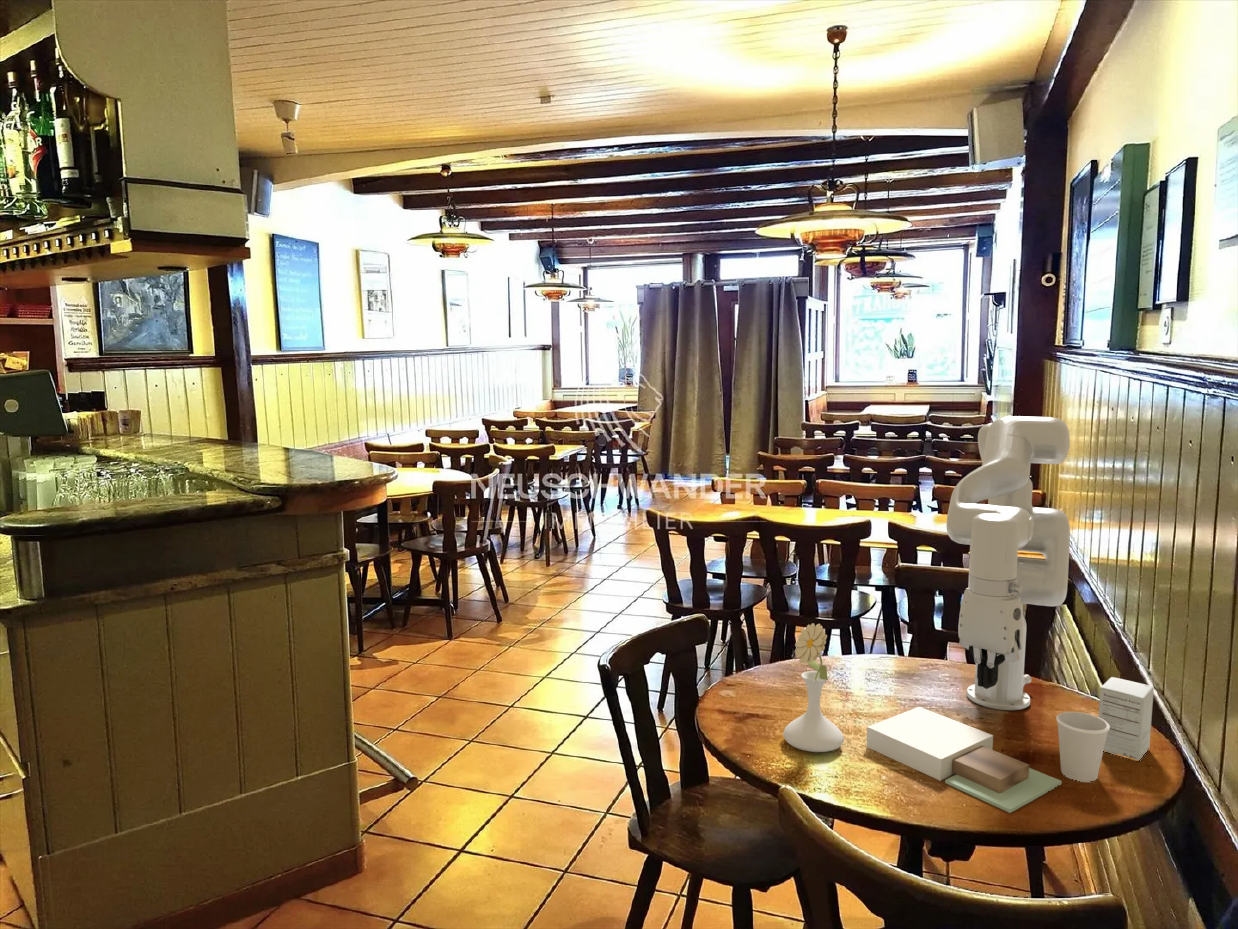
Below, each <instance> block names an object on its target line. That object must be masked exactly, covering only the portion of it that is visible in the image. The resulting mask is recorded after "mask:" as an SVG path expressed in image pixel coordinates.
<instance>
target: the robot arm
mask: <svg viewBox="0 0 1238 929" xmlns="http://www.w3.org/2000/svg"><path fill="white" fill-rule="evenodd" d="M1070 438H1071V437H1070V432H1069V428H1068V425H1067V423H1066V422H1065V421H1063V420H1062V419H1060V418H1058V417H1053V416H1052V417H1051V416H1023V415H1022V416H1021V415H1018V416H1017V415H1014V416H1013V415H1012V416H1010V415H1009V416H1004V417H999V418H997V419H995V420H994V421H993V422H990V423H987V424H986V423H985V424H984V425H983V426H981V427H980V428H979V430H978V433H977V447H978V451H979V455H980V459H981V462H982V463H981V466H979V467H977V468H976V469H974V470H972V471H970V472H969V473H968V474H967V475H966V476H964V477H963V478H961V480H959V482H958V483H957V484H956V486H955V487H954V489H953V491H952V493H951V496H950V500H949V505H948V506H949V507H948V511H947V516H946V531H947V535H948V537H949V538H950V540H951V541H953V542H955V543H957V544H961V545H969V562H968V565H969V566H968V584H967V585H968V587H966V588H965V590H964V592H963V596H962V600H961V604H960V610H959V618H958V627H957V628H958V629H957V630H958V632H957V633H958V638H959V646H961V647H962V648H965V649H966V650H968V651H969V652H970V654H971V655H972V656H973V659H974V663H975V671H974V672H975V673H974V684H972V685H970V686H968V687H967V688H966V696H967V698H968V699H969V700H970V701H972V702H973V703H975V704H977V705H980V706H982V707H986V708H989V709H992V710H993V709H994V710H1000V711H1019V710H1023V709H1027V707H1029V706H1030V705H1031V697H1030V695H1029V694H1028V693H1027V692H1025V691H1024V687H1025V685H1028V684H1030V683H1031V682H1032V676H1030V675H1029V674H1027V673H1026V674H1025V658H1026V644H1027V643H1026V641H1027V622H1026V619H1025V616H1024V609H1023V604H1027V605H1035V606H1045V607H1058V606H1061V605H1062V604H1063V603H1064V602H1065V600H1066V598H1067V595H1068V594H1067V593H1068V581H1069V566H1070V565H1069V564H1070V544H1071V543H1070V542H1071V541H1070V540H1071V539H1070V538H1071V537H1070V536H1071V528H1070V522H1069V518H1068V516H1067V514H1066V513H1065V512H1063V511H1062V510H1060V509H1056V508H1049V507H1037V506H1033V504H1032V502H1033V501H1032V500H1033V490H1034V489H1033V488H1034V487H1033V482H1032V480H1031V479H1030V475H1031V465H1032V464H1042V465H1043V464H1044V465H1045V464H1046V465H1060V464H1063V463H1064V462H1065V460H1066V459H1067V457H1068V455H1069V451H1070V442H1071V440H1070ZM984 500H988V501H987V502H988V504H985V503H979V502H982V501H984ZM1018 552H1029V553H1038V554H1041V555H1043V557H1044V558H1045V559H1042V558H1041V559H1040V558H1039V559H1038V558H1031V557H1028V558H1027V557H1023V556H1022V557H1021V556H1018Z"/></svg>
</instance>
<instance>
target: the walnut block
mask: <svg viewBox="0 0 1238 929" xmlns="http://www.w3.org/2000/svg"><path fill="white" fill-rule="evenodd" d="M1029 768H1030V764H1029V763H1026V762H1024V761H1021V760H1019V759H1016V758H1014V757H1011V756H1008V755H1006V754H1004V753H1002V752H999V751H996V750H994V749H993V748H992V749H989V748H987V747H984V746H980V747H978V748H975V749H973V750H971V751H969V752H967V753H965V754H963V755H961V756H959V757H956V758H954V759H953V765H952V773H954V774H953V775H959V776H961V777H963V778H966V779H968V780H970V781H972V782H975V783H977V784H979V785H981V786H984V787H986V788H988V789H990V790H993V791H995V792H997V793H999V794H1000V793H1002V792H1004V791H1006V790H1007V789H1009V788H1011V787H1013V786H1015V785H1017V784H1018V783H1020V782H1022V781H1024V780H1026V779H1028V777H1029Z"/></svg>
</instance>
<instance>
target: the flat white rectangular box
mask: <svg viewBox="0 0 1238 929" xmlns="http://www.w3.org/2000/svg"><path fill="white" fill-rule="evenodd" d="M993 743H994V735H993V734H991V733H987V732H986V731H983V730H981V729H977V728H975V727H972V726H969V725H968V724H966V723H963V722H960V721H957V720H954V719H953V718H949V717H948V716H944V715H941V714H939V713H936V712H934V711H931V710H929V709H926V708H925V707H922V706H916V707H915V708H912V709H909V710H907V711H904V712H902V713H899V714H896V715H894V716H891V717H888V718H886V719H882V720H881V721H878V722H876V723H873V724H871V725H869V726H867V727H866V747H867V748H868V749H871V750H873V751H875V752H877V753H879V754H882V755H884V756H885V757H888V758H890V759H892V760H894V761H896V762H898V763H901V764H903V765H905V766H908V767H910V768H911V769H914V770H917V771H918V772H920V773H923V774H925V775H927V776H929V777H931V778H933V779H935V780H938V781H940V782H941V781H942V780H946V779H948V778H950V777H952V776H954V775H955V774H954V773H952V765H953V759H954V758H956V757H959V756H961V755H963V754H965V753H967V752H969V751H971V750H973V749H975V748H978V747H980V746H984V747H987V748H989V749H992V750H993Z"/></svg>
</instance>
